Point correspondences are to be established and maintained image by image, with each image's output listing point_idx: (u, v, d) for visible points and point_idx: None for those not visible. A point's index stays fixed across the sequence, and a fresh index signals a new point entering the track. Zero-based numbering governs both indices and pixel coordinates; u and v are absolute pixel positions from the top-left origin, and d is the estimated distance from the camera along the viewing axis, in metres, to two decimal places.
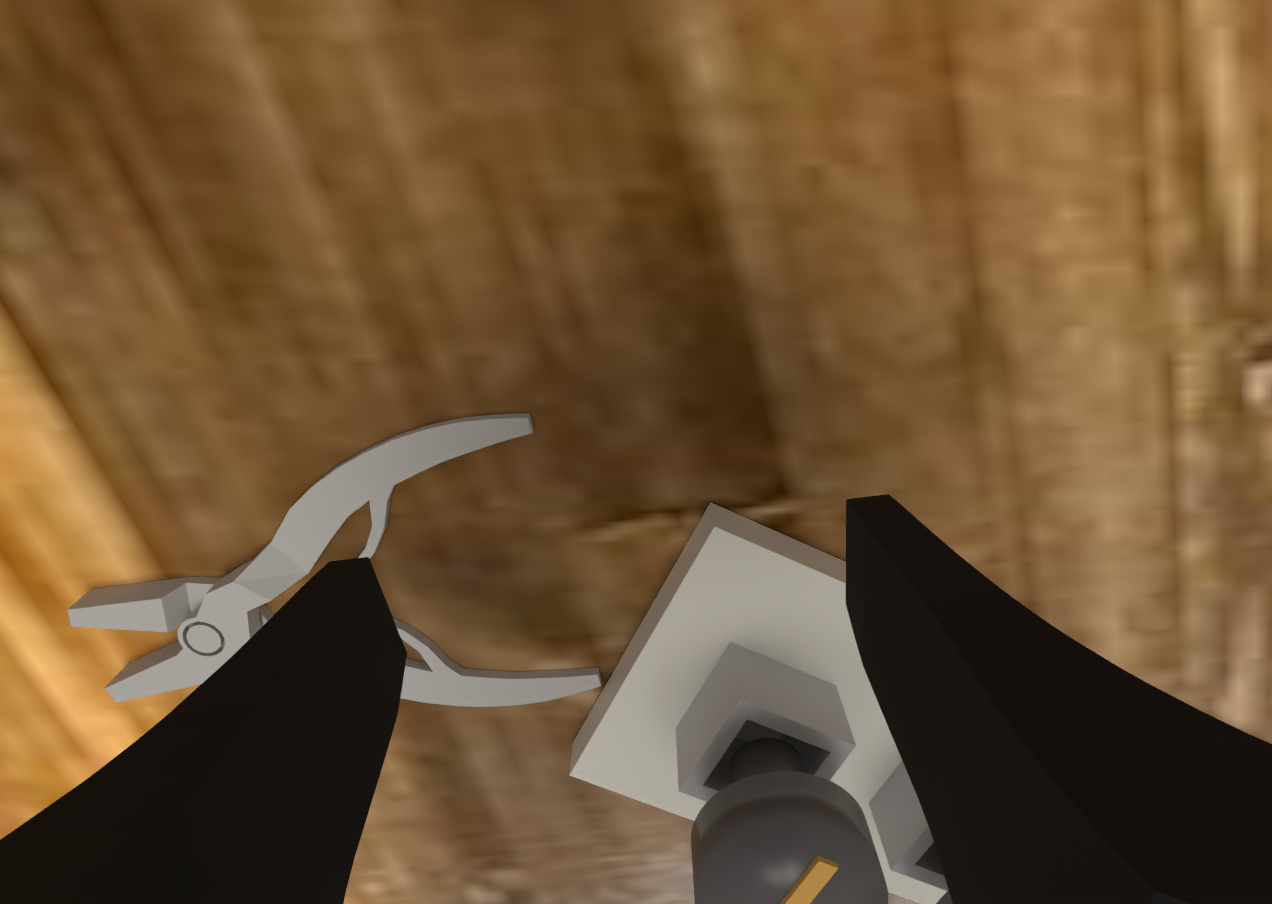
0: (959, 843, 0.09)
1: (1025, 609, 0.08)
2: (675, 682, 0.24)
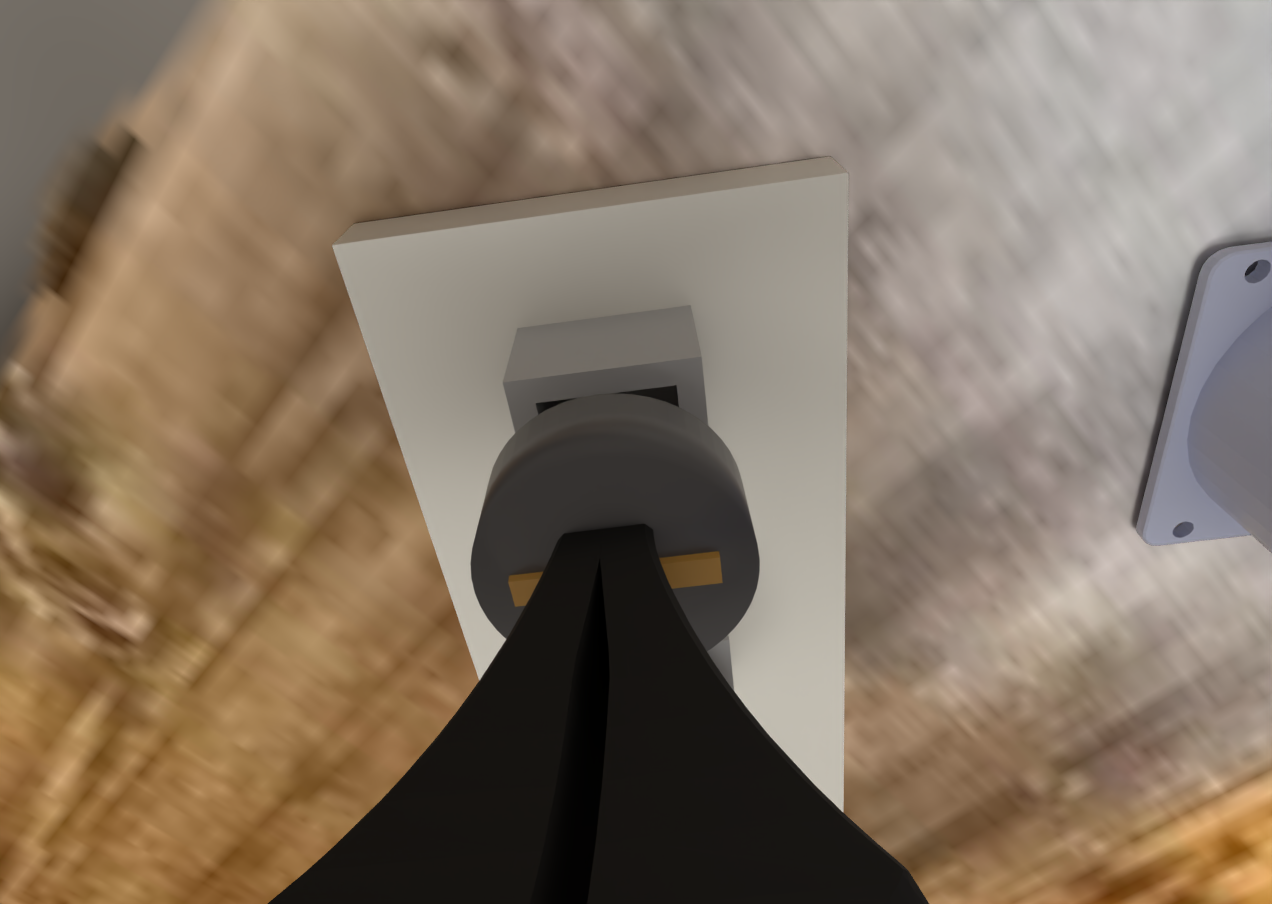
0: None
1: (693, 646, 0.08)
2: None
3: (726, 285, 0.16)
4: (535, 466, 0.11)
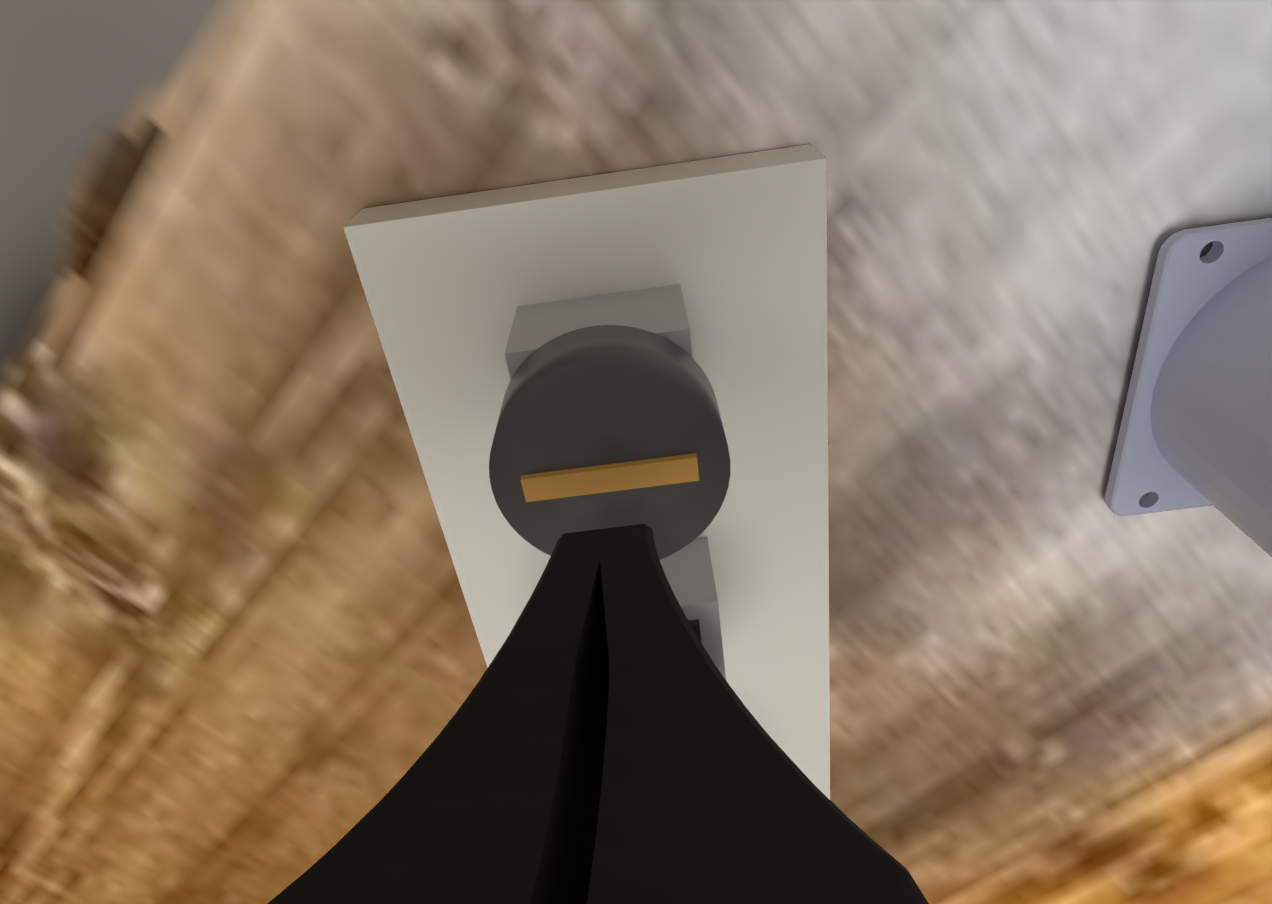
0: None
1: (693, 646, 0.08)
2: None
3: (713, 264, 0.17)
4: (543, 379, 0.14)
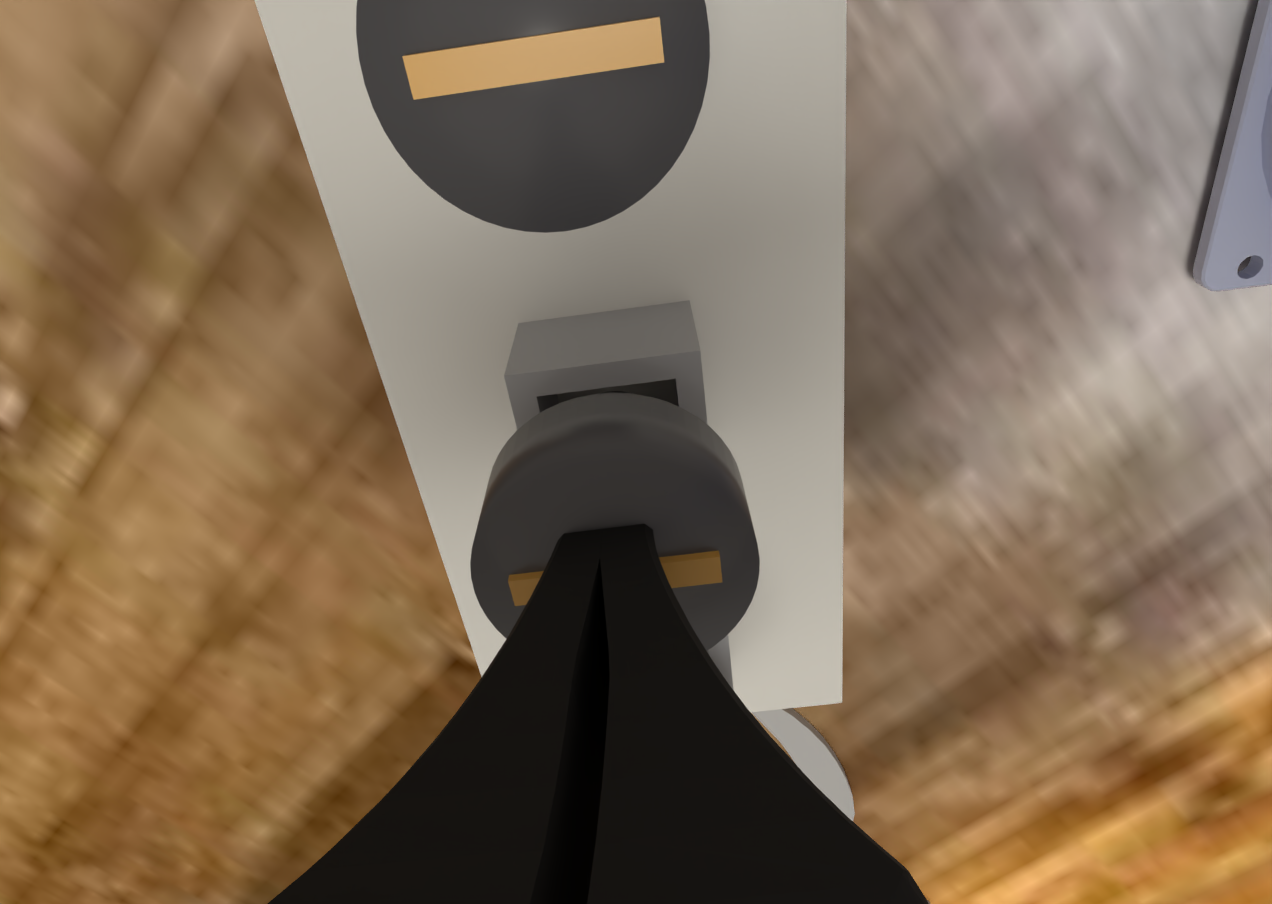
0: None
1: (693, 646, 0.08)
2: None
3: None
4: None
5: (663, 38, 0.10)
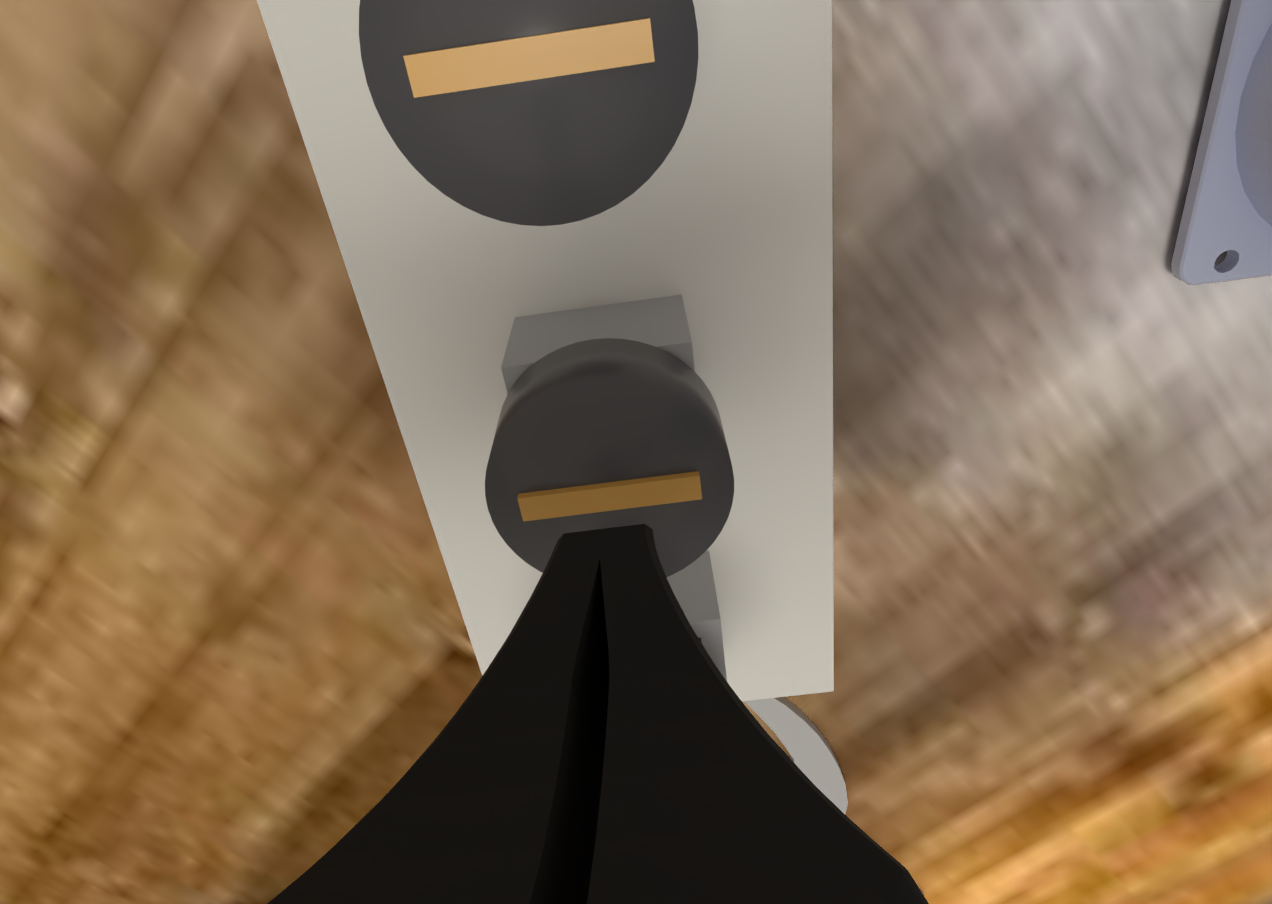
0: None
1: (693, 647, 0.08)
2: None
3: None
4: None
5: (653, 38, 0.10)
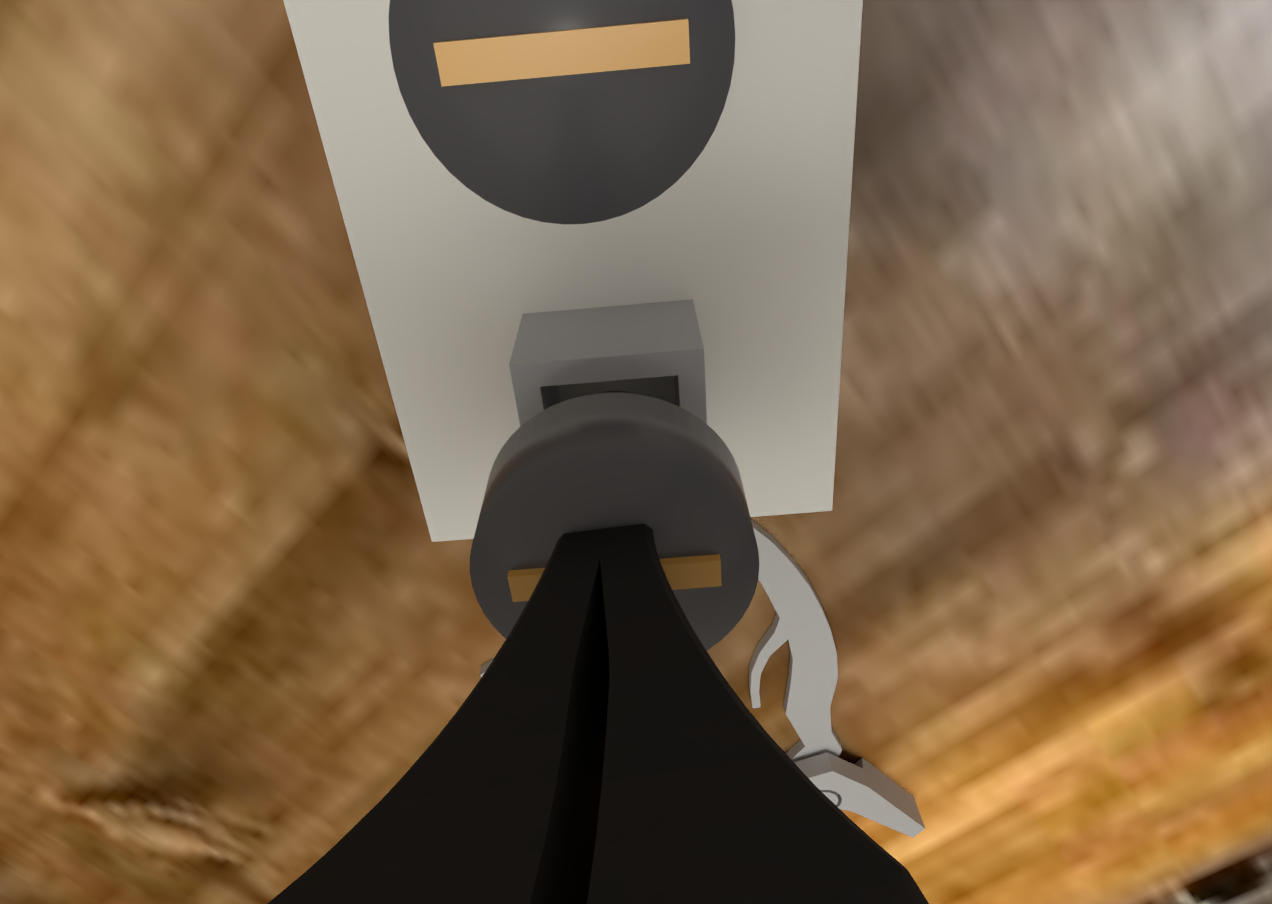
0: None
1: (693, 646, 0.08)
2: None
3: None
4: None
5: None
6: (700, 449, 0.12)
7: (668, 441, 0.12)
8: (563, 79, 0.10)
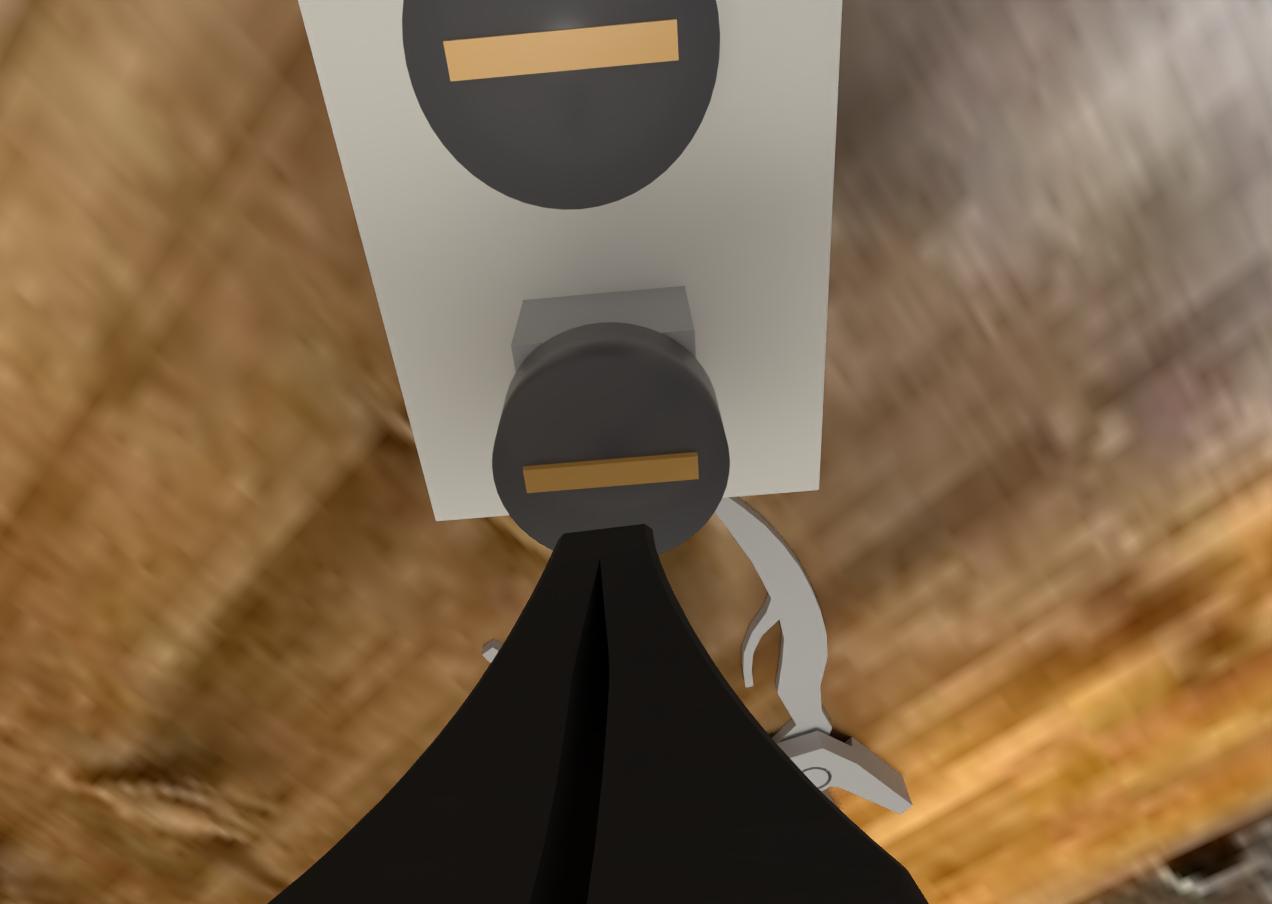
0: None
1: (692, 646, 0.08)
2: None
3: None
4: None
5: None
6: (680, 365, 0.14)
7: (654, 357, 0.14)
8: (562, 75, 0.11)
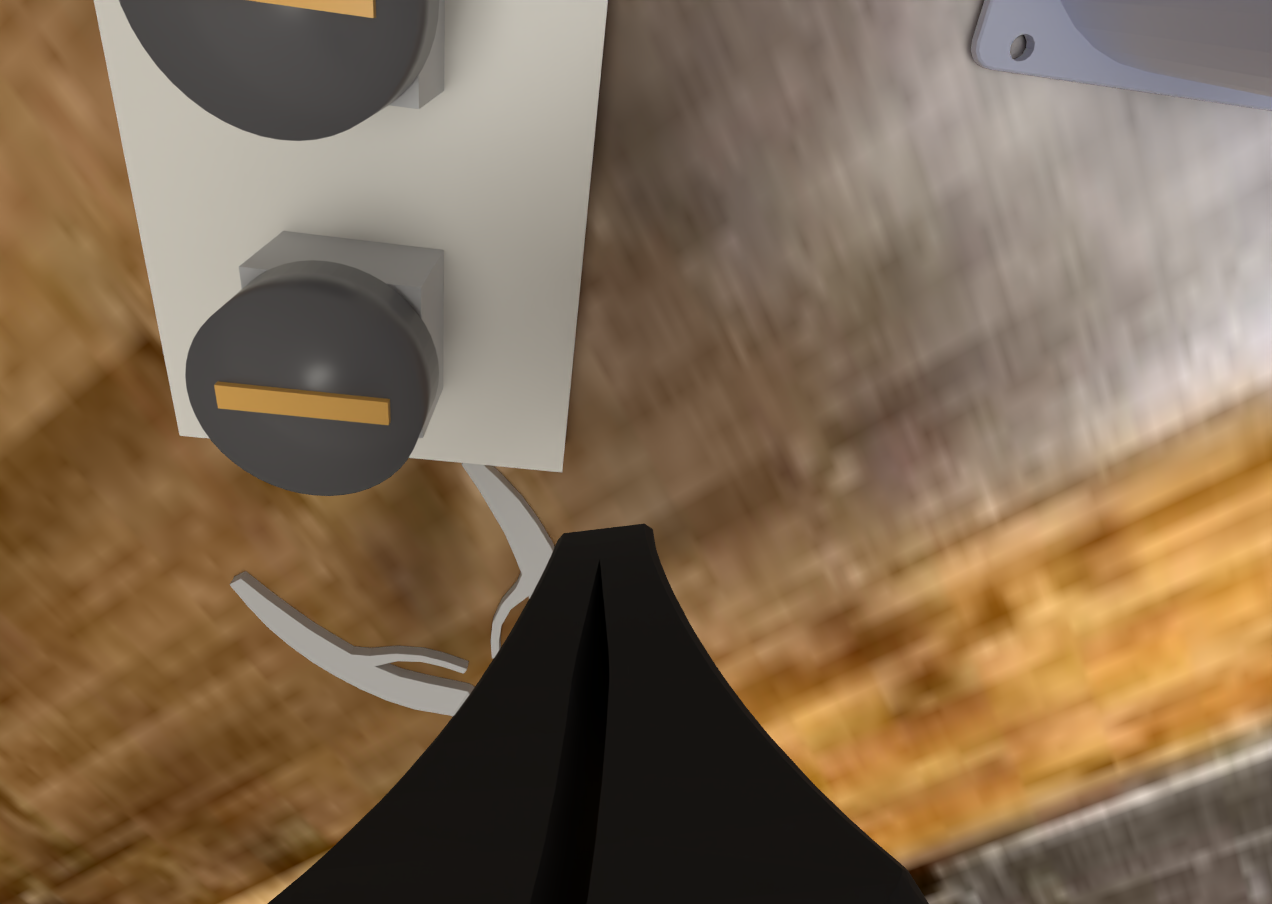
0: None
1: (693, 646, 0.08)
2: None
3: None
4: None
5: None
6: (387, 314, 0.15)
7: (359, 300, 0.15)
8: (262, 6, 0.12)
